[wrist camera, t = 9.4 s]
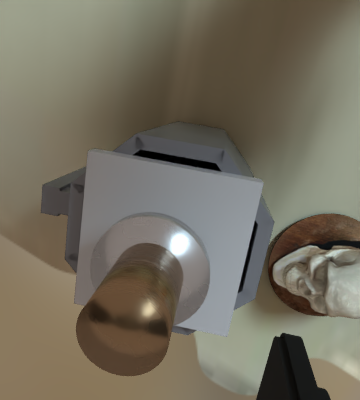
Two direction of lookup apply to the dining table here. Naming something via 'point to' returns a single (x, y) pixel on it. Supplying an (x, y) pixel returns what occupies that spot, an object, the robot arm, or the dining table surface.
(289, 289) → the skull
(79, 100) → the dining table surface
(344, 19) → the dining table surface
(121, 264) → the plunger
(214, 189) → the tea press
